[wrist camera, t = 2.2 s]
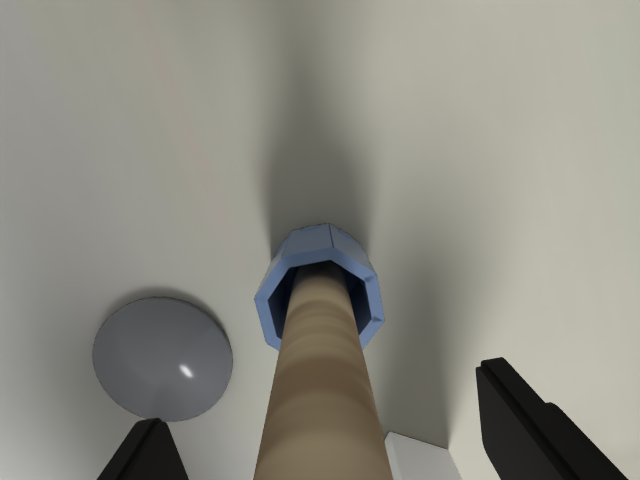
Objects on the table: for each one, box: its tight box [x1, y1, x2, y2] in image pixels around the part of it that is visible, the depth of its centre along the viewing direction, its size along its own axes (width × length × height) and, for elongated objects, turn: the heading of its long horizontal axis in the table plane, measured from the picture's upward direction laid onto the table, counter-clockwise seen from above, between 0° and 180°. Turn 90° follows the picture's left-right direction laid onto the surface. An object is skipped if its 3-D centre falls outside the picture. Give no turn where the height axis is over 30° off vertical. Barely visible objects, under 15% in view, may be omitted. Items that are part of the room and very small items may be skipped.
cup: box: [254, 223, 384, 350], centre depth 22 cm, size 7×7×7 cm
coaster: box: [93, 297, 233, 422], centre depth 27 cm, size 11×11×1 cm
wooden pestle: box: [253, 260, 393, 480], centre depth 16 cm, size 4×4×18 cm
